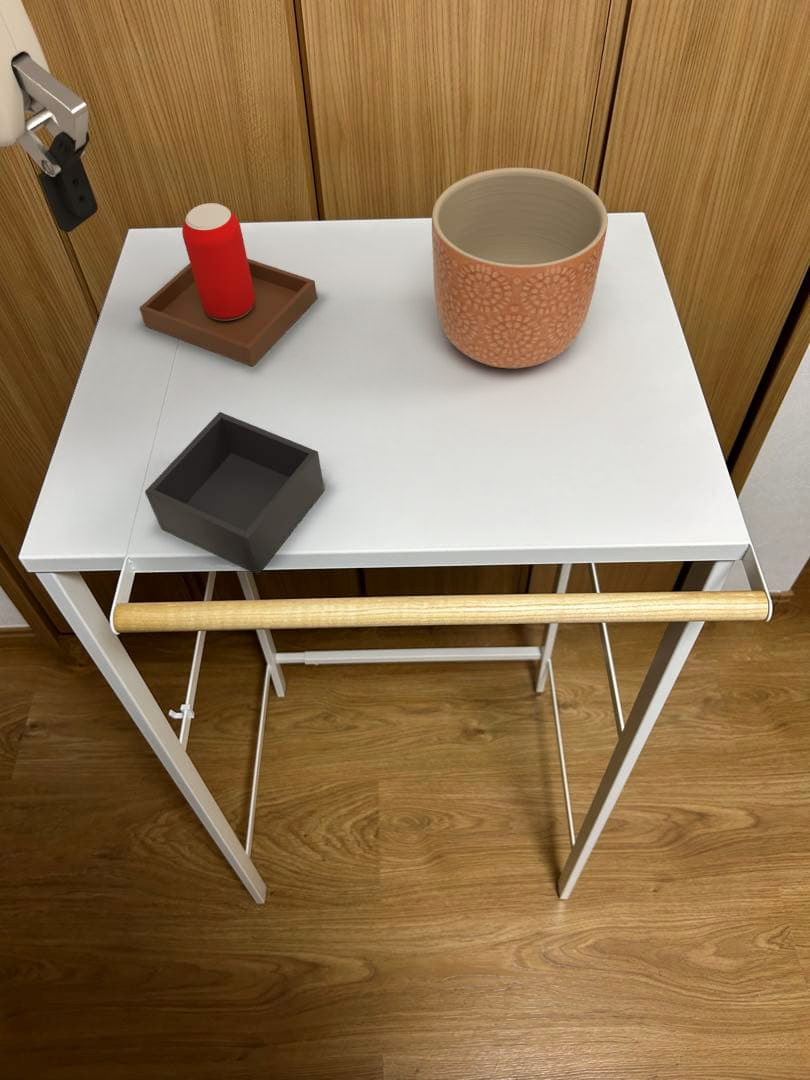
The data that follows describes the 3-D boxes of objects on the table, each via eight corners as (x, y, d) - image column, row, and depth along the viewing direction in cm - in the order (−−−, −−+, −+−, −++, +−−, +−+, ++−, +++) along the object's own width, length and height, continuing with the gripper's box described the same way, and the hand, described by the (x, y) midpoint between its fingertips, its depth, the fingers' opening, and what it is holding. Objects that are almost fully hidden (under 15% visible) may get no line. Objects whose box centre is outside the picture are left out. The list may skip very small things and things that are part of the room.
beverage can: (195, 321, 95) (168, 227, 86) (217, 288, 99) (193, 194, 89) (244, 329, 94) (222, 235, 85) (265, 296, 98) (246, 202, 88)
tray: (145, 326, 96) (138, 307, 94) (213, 264, 103) (209, 245, 101) (252, 366, 91) (248, 348, 89) (317, 299, 98) (314, 280, 96)
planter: (582, 291, 97) (603, 167, 85) (589, 393, 87) (613, 269, 75) (437, 287, 99) (437, 165, 86) (427, 387, 89) (425, 264, 76)
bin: (161, 529, 78) (144, 491, 74) (231, 451, 84) (219, 411, 79) (258, 575, 75) (247, 538, 70) (324, 490, 81) (318, 451, 76)
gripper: (-272, -98, 44) (-103, 199, 58) (-41, -48, 39) (84, 267, 53) (-155, -141, 48) (-23, 148, 62) (70, -100, 43) (159, 206, 56)
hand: (26, 202), depth 57 cm, fingers open, 9 cm apart
